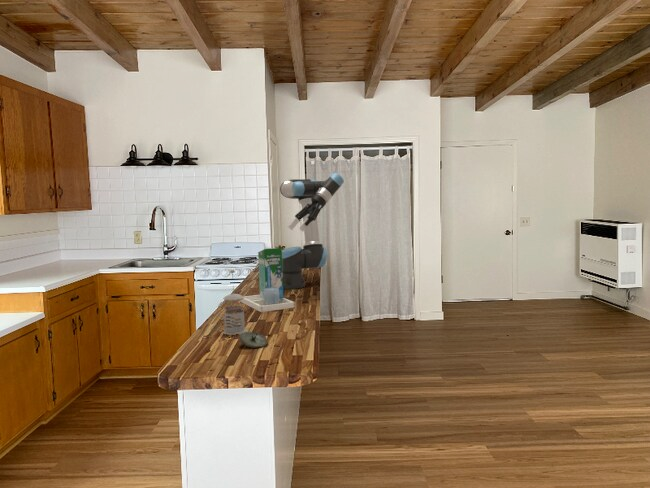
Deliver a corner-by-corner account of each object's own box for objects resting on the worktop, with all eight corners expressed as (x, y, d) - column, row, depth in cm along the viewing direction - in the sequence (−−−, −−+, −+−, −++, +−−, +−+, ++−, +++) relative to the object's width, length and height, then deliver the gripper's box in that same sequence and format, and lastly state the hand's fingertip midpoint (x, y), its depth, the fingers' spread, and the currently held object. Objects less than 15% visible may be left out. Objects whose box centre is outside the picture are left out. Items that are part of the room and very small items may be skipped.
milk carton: (276, 295, 265) (275, 246, 263) (283, 298, 257) (281, 247, 255) (259, 297, 261) (257, 247, 259) (266, 300, 253) (264, 248, 251)
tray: (240, 303, 264) (240, 296, 264) (272, 299, 272) (272, 293, 272) (260, 314, 240) (260, 306, 239) (294, 309, 247) (294, 302, 247)
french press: (242, 335, 204) (239, 271, 202) (214, 334, 206) (211, 271, 204) (250, 328, 213) (248, 267, 211) (224, 328, 216) (221, 267, 213)
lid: (254, 339, 197) (253, 326, 197) (273, 343, 191) (273, 330, 191) (233, 346, 189) (232, 333, 188) (253, 351, 183) (252, 336, 182)
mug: (262, 306, 251) (261, 288, 250) (276, 304, 254) (275, 286, 253) (269, 310, 243) (269, 290, 242) (283, 308, 246) (283, 289, 245)
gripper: (305, 193, 279) (280, 223, 274) (327, 193, 257) (300, 225, 251) (315, 203, 282) (290, 232, 276) (337, 203, 260) (310, 235, 254)
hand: (295, 229), depth 264 cm, fingers open, 13 cm apart
